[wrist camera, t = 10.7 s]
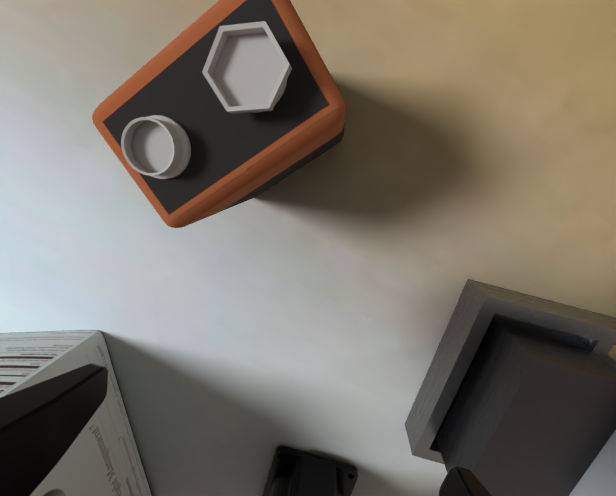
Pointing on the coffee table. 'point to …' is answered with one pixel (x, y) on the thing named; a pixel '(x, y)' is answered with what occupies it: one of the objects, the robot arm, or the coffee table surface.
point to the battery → (224, 110)
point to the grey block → (600, 466)
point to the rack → (518, 392)
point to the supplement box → (101, 427)
